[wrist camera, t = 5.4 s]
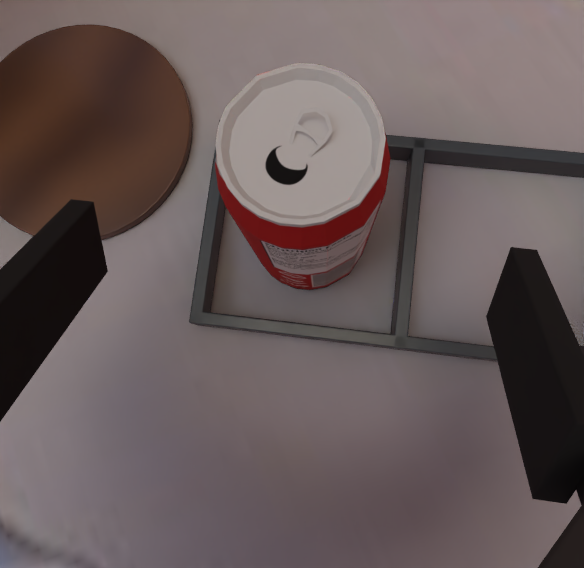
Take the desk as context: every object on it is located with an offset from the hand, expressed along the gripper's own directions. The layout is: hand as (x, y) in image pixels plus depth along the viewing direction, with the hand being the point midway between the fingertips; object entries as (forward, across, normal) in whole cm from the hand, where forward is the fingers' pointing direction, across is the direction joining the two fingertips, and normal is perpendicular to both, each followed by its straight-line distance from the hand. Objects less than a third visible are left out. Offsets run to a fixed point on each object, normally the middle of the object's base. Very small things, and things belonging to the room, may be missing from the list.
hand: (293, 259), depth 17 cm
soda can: (+9, 0, -5) cm, 10 cm away
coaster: (+12, -13, -2) cm, 18 cm away
